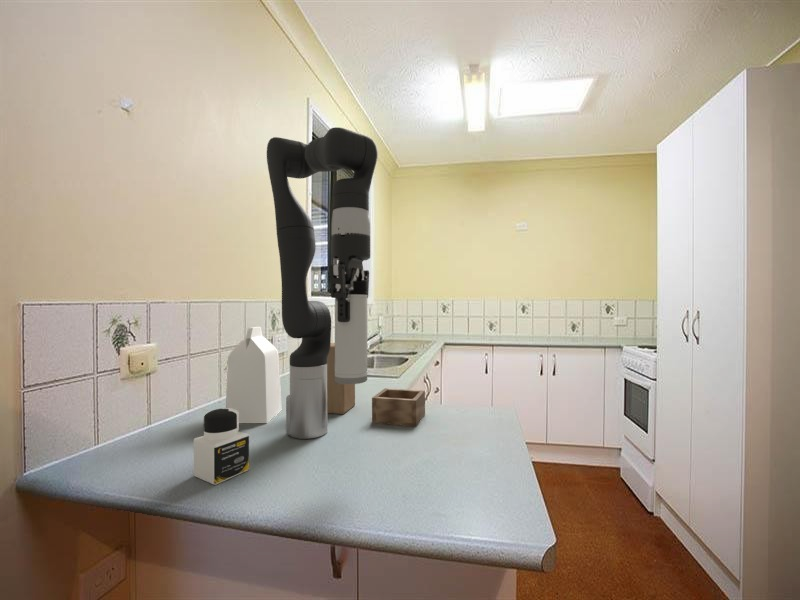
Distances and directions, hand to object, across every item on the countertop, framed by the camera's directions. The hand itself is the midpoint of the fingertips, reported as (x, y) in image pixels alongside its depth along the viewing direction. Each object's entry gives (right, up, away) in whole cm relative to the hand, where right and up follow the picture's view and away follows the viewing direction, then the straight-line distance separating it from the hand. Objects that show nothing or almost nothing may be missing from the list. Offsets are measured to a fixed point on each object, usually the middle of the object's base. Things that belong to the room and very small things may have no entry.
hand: (351, 320), depth 70 cm
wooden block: (-11, -30, +42) cm, 53 cm away
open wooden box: (+9, -29, +32) cm, 45 cm away
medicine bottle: (-25, -29, -1) cm, 39 cm away
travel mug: (0, -12, 0) cm, 12 cm away
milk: (-33, -30, +35) cm, 56 cm away
